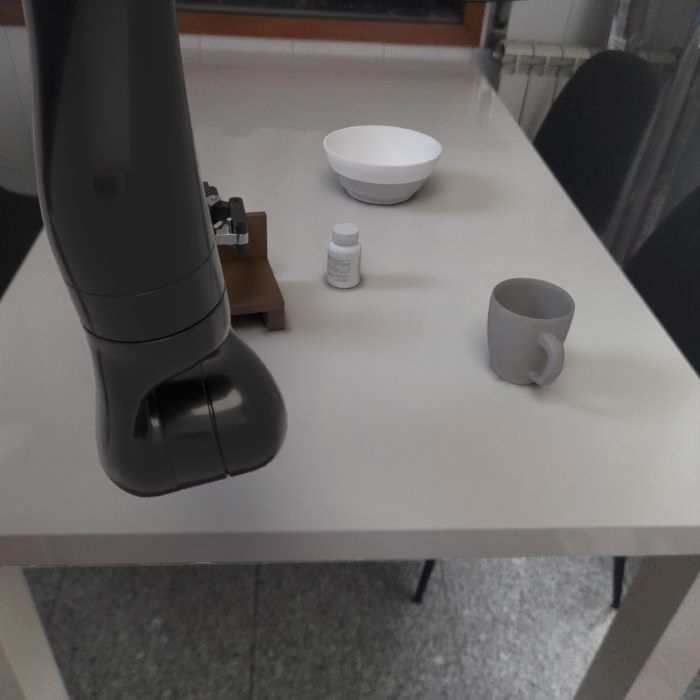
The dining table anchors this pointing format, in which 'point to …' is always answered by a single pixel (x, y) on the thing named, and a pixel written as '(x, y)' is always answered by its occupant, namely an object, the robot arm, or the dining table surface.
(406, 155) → the bowl
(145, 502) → the dining table surface
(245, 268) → the wooden stand
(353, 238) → the pill bottle
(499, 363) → the mug
